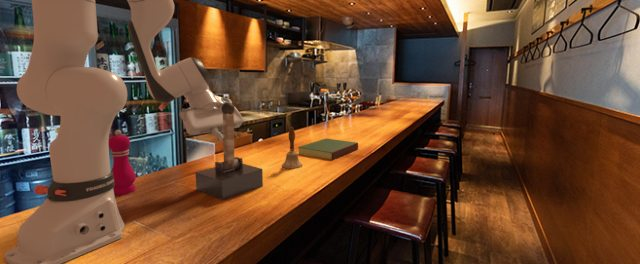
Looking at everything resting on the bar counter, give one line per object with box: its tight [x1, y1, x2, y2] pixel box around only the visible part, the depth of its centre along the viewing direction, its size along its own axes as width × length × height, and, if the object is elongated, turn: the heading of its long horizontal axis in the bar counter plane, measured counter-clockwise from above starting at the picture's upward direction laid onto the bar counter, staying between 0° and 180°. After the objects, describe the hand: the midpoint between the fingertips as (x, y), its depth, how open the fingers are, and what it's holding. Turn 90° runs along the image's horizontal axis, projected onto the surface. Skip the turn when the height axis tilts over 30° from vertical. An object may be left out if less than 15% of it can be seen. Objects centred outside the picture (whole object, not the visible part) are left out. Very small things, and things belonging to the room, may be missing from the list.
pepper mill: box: [109, 129, 137, 196], centre depth 108 cm, size 7×7×20 cm
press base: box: [195, 156, 264, 201], centre depth 112 cm, size 14×16×9 cm
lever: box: [220, 103, 239, 171], centre depth 110 cm, size 4×6×22 cm, turn 142°
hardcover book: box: [297, 138, 359, 161], centre depth 164 cm, size 25×19×4 cm
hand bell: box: [281, 126, 303, 170], centre depth 138 cm, size 8×8×16 cm
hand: (225, 139), depth 111 cm, fingers closed, pressing on lever
